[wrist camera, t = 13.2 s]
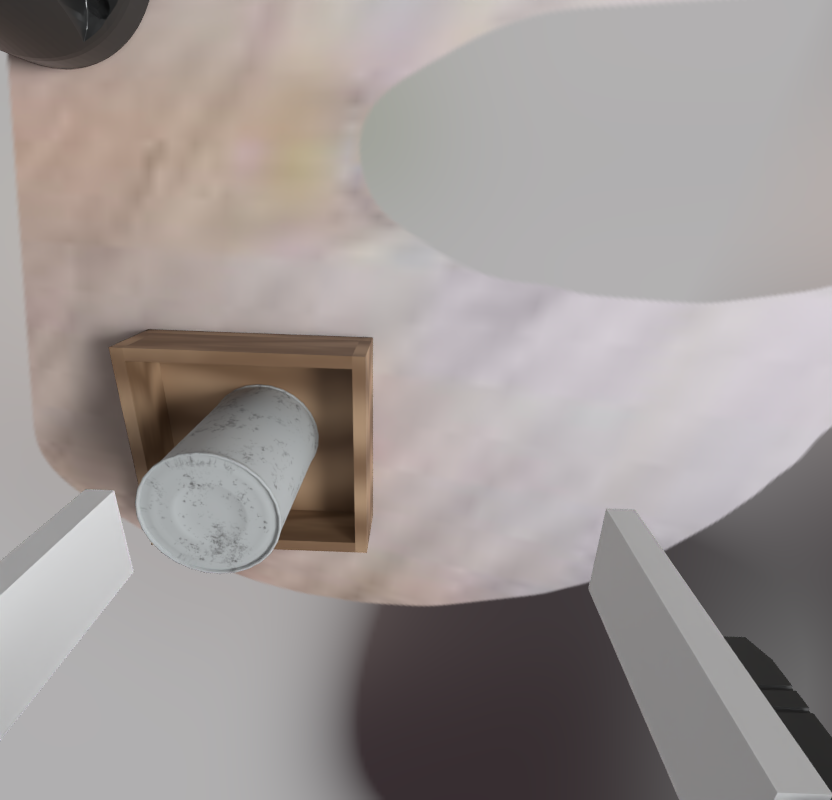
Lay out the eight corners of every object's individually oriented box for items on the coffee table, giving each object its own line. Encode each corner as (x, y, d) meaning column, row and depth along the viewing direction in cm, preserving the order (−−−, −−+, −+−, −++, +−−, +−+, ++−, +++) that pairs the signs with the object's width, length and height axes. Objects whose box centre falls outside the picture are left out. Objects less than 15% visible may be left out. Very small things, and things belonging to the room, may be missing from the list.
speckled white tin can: (199, 455, 44) (120, 543, 32) (230, 366, 40) (154, 429, 29) (297, 494, 45) (254, 592, 34) (334, 411, 42) (301, 488, 30)
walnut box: (148, 329, 40) (108, 347, 35) (372, 337, 40) (365, 356, 35) (180, 508, 47) (151, 544, 42) (372, 515, 47) (366, 552, 42)
